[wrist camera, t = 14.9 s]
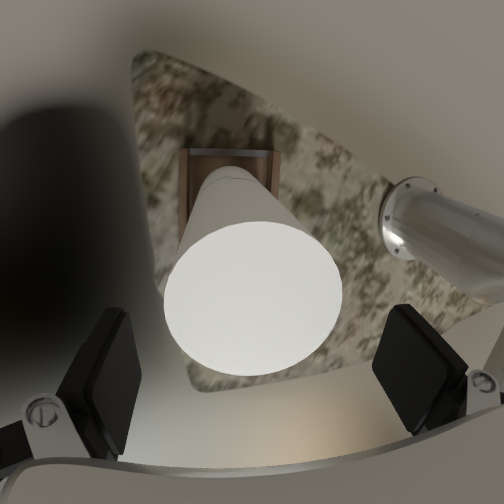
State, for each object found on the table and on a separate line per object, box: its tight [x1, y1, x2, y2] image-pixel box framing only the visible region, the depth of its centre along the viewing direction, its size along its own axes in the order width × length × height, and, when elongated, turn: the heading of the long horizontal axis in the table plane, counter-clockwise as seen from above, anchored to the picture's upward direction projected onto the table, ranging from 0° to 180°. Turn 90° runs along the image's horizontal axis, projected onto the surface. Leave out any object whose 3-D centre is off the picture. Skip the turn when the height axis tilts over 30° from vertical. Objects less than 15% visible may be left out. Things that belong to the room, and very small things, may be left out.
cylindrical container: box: [164, 166, 342, 376], centre depth 23 cm, size 7×7×25 cm
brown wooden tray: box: [179, 148, 281, 243], centre depth 32 cm, size 11×17×9 cm, turn 177°
